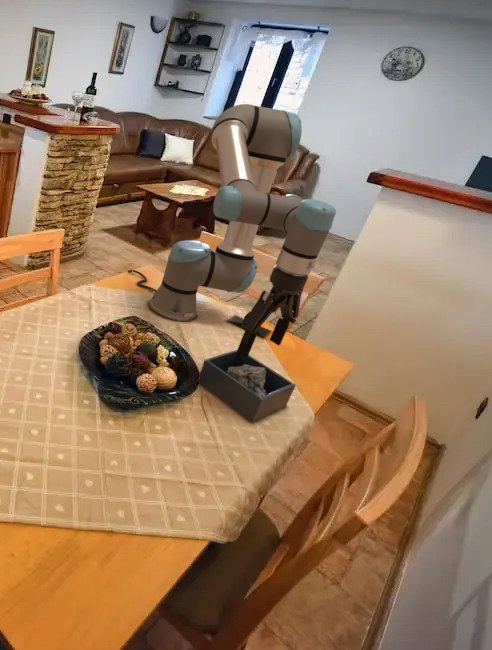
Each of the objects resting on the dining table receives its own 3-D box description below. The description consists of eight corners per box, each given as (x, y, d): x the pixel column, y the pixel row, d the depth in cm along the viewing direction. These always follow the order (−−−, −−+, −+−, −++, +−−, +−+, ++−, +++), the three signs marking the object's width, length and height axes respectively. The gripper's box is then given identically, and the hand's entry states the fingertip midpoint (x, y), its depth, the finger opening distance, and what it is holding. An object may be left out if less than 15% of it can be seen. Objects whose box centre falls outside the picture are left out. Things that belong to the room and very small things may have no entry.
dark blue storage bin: (196, 381, 131) (204, 359, 128) (231, 368, 140) (239, 348, 136) (252, 422, 119) (262, 399, 116) (285, 406, 128) (296, 384, 125)
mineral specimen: (237, 412, 129) (249, 387, 135) (266, 409, 123) (277, 383, 129) (218, 384, 127) (231, 359, 133) (247, 379, 121) (259, 354, 127)
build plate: (270, 332, 164) (275, 320, 162) (262, 339, 159) (267, 326, 157) (235, 316, 171) (240, 304, 168) (227, 322, 165) (231, 309, 163)
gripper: (274, 284, 103) (240, 368, 114) (335, 270, 117) (299, 345, 128) (245, 269, 108) (215, 350, 119) (306, 257, 122) (274, 330, 133)
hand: (258, 348), depth 123 cm, fingers open, 13 cm apart
